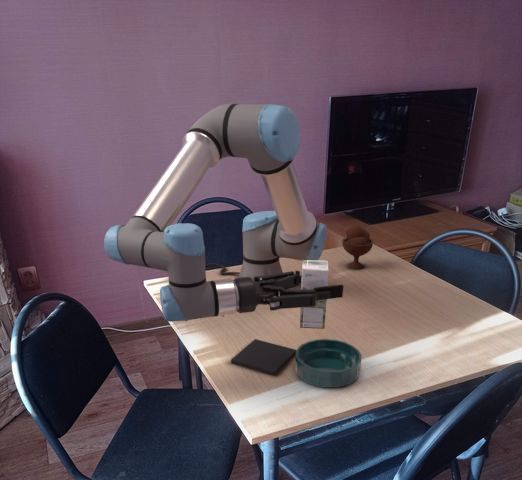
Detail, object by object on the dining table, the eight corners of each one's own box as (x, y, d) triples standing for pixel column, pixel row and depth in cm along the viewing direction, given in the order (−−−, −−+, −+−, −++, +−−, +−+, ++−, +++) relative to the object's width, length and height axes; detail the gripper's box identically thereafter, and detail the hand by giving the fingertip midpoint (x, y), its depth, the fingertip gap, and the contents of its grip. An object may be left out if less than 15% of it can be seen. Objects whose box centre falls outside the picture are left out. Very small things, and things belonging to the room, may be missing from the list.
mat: (231, 363, 123) (230, 359, 123) (255, 342, 132) (255, 338, 132) (274, 375, 118) (274, 372, 118) (296, 353, 127) (296, 349, 127)
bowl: (284, 377, 117) (284, 361, 115) (311, 349, 129) (311, 333, 127) (346, 395, 111) (347, 378, 109) (368, 364, 123) (370, 348, 120)
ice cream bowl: (364, 274, 174) (368, 231, 167) (335, 268, 179) (338, 226, 172) (375, 264, 182) (380, 223, 175) (347, 259, 187) (350, 219, 180)
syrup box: (324, 318, 118) (328, 259, 111) (325, 330, 113) (329, 268, 106) (300, 317, 118) (302, 258, 111) (299, 329, 113) (301, 267, 106)
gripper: (225, 294, 117) (316, 283, 123) (247, 333, 100) (353, 318, 106) (223, 263, 113) (318, 253, 119) (247, 298, 96) (356, 285, 102)
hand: (334, 284), depth 112 cm, fingers closed on syrup box, 7 cm apart
